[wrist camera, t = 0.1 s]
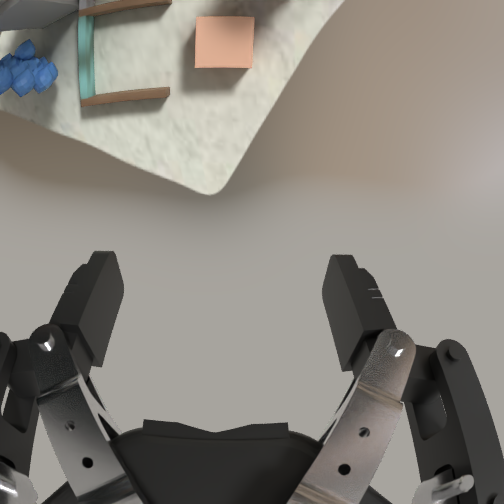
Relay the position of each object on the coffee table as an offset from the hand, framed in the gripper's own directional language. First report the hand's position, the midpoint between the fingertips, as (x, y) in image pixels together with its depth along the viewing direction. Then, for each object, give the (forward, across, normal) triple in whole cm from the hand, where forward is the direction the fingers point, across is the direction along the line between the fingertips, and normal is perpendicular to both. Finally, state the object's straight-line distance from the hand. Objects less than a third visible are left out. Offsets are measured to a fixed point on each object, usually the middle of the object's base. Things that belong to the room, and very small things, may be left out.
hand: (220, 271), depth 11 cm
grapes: (+29, +25, -10) cm, 40 cm away
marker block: (+29, +1, -9) cm, 31 cm away
